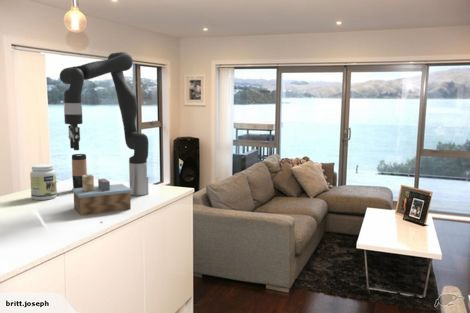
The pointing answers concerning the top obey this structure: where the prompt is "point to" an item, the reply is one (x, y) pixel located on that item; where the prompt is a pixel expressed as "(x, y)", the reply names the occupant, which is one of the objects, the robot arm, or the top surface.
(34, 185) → the supplement tub
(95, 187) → the lid
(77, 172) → the travel mug
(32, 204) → the top surface
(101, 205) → the wooden box
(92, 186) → the beech key
